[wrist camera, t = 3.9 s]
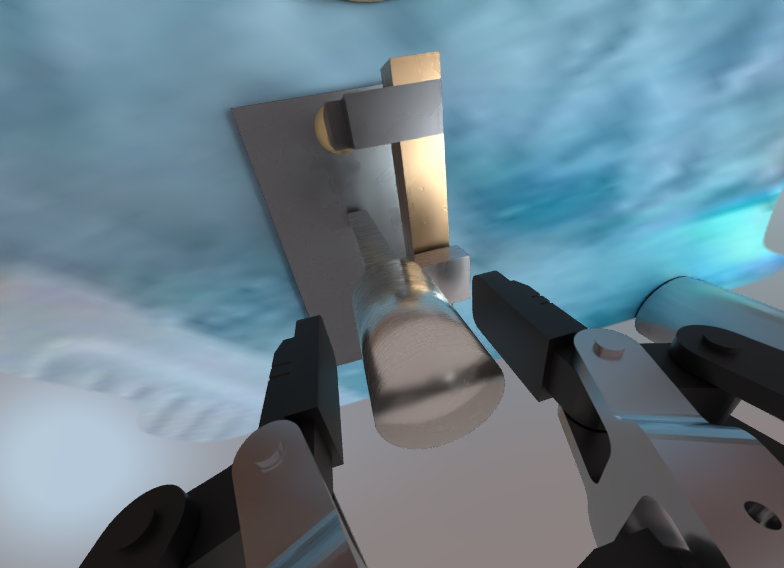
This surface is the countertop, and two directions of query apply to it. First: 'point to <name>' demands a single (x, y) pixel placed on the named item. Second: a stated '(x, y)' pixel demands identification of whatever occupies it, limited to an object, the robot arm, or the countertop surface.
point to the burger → (366, 0)
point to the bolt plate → (352, 180)
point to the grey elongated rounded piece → (420, 343)
